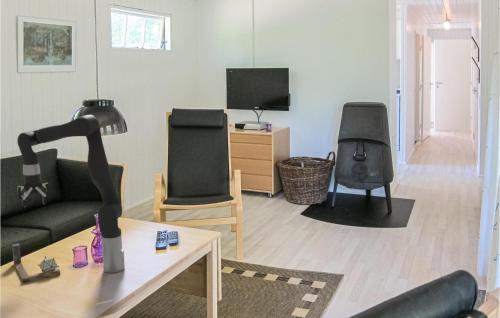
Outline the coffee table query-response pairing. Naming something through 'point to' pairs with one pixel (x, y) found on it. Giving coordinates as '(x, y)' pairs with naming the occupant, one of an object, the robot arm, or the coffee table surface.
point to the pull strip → (23, 272)
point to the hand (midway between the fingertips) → (34, 205)
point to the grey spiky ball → (48, 264)
